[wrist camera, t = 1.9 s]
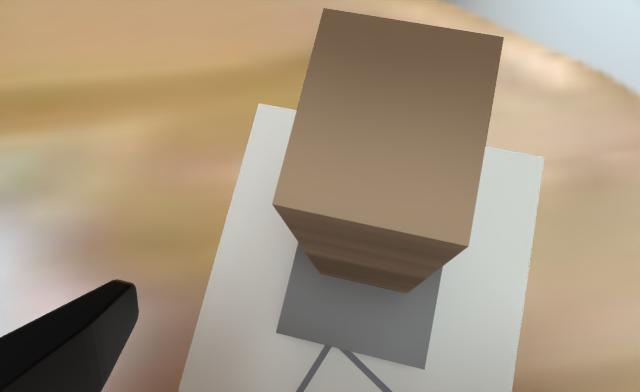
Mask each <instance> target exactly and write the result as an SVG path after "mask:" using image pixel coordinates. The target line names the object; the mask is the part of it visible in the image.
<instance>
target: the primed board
mask: <svg viewBox="0 0 640 392" xmlns="http://www.w3.org/2000/svg"><path fill="white" fill-rule="evenodd" d="M296 111H297V110H292V109H287V108H282V107H276V106H271V105H266V104H260V103H259V105H258V109H257V112H256V116H255V119H254V123H253V126H252V130H251V133H250V137H249V140H248V144H247V148H246V151H245V155H244V158H243V162H242V165H241V169H240V172H239V176H238V180H237V183H236V187H235V190H234V194H233V197H232V201H231V204H230V208H229V211H228V215H227V219H226V222H225V226H224V229H223V233H222V236H221V240H220V243H219V247H218V251H217V254H216V258H215V261H214V265H213V268H212V272H211V275H210V279H209V283H208V286H207V290H206V293H205V297H204V300H203V304H202V307H201V311H200V314H199V318H198V322H197V325H196V329H195V332H194V336H193V339H192V343H191V346H190V350H189V354H188V357H187V361H186V364H185V368H184V371H183V375H182V378H181V382H180V386H179V389H178V392H512V386H513V379H514V372H515V365H516V357H517V350H518V343H519V336H520V329H521V322H522V314H523V307H524V300H525V293H526V286H527V279H528V271H529V264H530V257H531V250H532V243H533V236H534V228H535V221H536V214H537V207H538V200H539V193H540V185H541V178H542V171H543V164H544V157H541V156H536V155H531V154H525V153H520V152H515V151H509V150H504V149H499V148H493V147H488V146H485V152H484V158H483V164H482V170H481V176H480V182H479V188H478V194H477V200H476V206H475V212H474V218H473V224H472V230H471V236H470V242H469V247H467V248H466V249H465V250H463V251H462V252H461V253H459V254H458V255H457V256H456V257H454V258H453V259H452V260H450V261H449V262H448V263H446V264H445V265H444V266H443V269H442V274H441V280H440V286H439V291H438V297H437V302H436V308H435V314H434V319H433V325H432V331H431V336H430V342H429V348H428V353H427V359H426V364H425V370H424V369H420V368H415V367H411V366H407V365H403V364H399V363H395V362H391V361H387V360H383V359H379V358H375V357H371V356H367V355H363V354H359V353H355V352H351V351H347V350H343V349H339V348H335V347H331V346H327V345H323V344H319V343H315V342H311V341H307V340H303V339H299V338H295V337H291V336H287V335H282V334H278V333H276V330H277V326H278V322H279V318H280V314H281V310H282V306H283V302H284V298H285V294H286V290H287V286H288V281H289V277H290V273H291V269H292V265H293V261H294V257H295V253H296V249H297V245H298V241H297V240H296V238H295V237H294V235H293V234H292V232H291V231H290V229H289V228H288V227H287V225H286V224H285V222H284V221H283V219H282V218H281V216H280V215H279V214H278V212H277V211H276V209H275V208H274V206H273V205H272V202H273V198H274V195H275V191H276V187H277V183H278V180H279V176H280V172H281V168H282V164H283V161H284V157H285V153H286V149H287V145H288V142H289V138H290V134H291V130H292V127H293V123H294V119H295V115H296Z"/></svg>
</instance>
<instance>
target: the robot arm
mask: <svg viewBox="0 0 640 392" xmlns="http://www.w3.org/2000/svg"><path fill="white" fill-rule="evenodd" d="M138 314H139V309H138V301H137V292H136V287H135V285H134V284H133V283H131V282H127V281H122V280H112V281H110V282H108V283H106V284H104V285H102V286H100V287H98V288H96V289H95V290H93V291H91V292H89V293H87V294H85V295H83V296H81V297H79V298H77V299H75V300H73V301H71V302H69V303H67V304H65V305H63V306H61V307H59V308H57V309H55V310H53V311H51V312H49V313H47V314H46V315H44V316H42V317H40V318H38V319H36V320H34V321H32V322H30V323H28V324H26V325H24V326H22V327H20V328H18V329H16V330H14V331H12V332H10V333H8V334H6V335H4V336H2V337H0V392H101V390H102V389H103V387H104V385H105V383H106V381H107V379H108V378H109V376H110V374H111V372H112V370H113V368H114V366H115V364H116V362H117V360H118V358H119V356H120V354H121V352H122V350H123V348H124V346H125V344H126V342H127V340H128V338H129V336H130V334H131V332H132V330H133V328H134V326H135V324H136V322H137V319H138Z"/></svg>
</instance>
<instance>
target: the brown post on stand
mask: <svg viewBox="0 0 640 392" xmlns="http://www.w3.org/2000/svg"><path fill="white" fill-rule="evenodd" d="M503 38H504V37H499V36H493V35H487V34H481V33H474V32H468V31H462V30H456V29H450V28H443V27H437V26H431V25H425V24H419V23H412V22H406V21H400V20H394V19H387V18H381V17H375V16H369V15H363V14H356V13H350V12H344V11H338V10H332V9H325V8H324V9H323V13H322V17H321V20H320V24H319V28H318V32H317V36H316V39H315V43H314V47H313V51H312V55H311V58H310V62H309V66H308V70H307V73H306V77H305V81H304V85H303V89H302V92H301V96H300V100H299V104H298V108H297V111H296V115H295V119H294V123H293V127H292V130H291V134H290V138H289V142H288V145H287V149H286V153H285V157H284V161H283V164H282V168H281V172H280V176H279V180H278V183H277V187H276V191H275V195H274V198H273V202H272V205H273V206H274V208H275V209H276V211H277V212H278V214H279V215H280V216H281V218H282V219H283V221H284V222H285V224H286V225H287V227H288V228H289V229H290V231H291V232H292V234H293V235H294V237H295V238H296V240H297V241H298V245H297V249H296V253H295V257H294V261H293V265H292V269H291V273H290V277H289V281H288V286H287V290H286V294H285V298H284V302H283V306H282V310H281V314H280V318H279V322H278V326H277V330H276V333H278V334H282V335H287V336H291V337H295V338H299V339H303V340H307V341H311V342H315V343H319V344H323V345H327V346H331V347H335V348H339V349H343V350H347V351H351V352H355V353H359V354H363V355H367V356H371V357H375V358H379V359H383V360H387V361H391V362H395V363H399V364H403V365H407V366H411V367H415V368H420V369H424V370H425V364H426V359H427V353H428V348H429V342H430V336H431V331H432V325H433V319H434V314H435V308H436V302H437V297H438V291H439V286H440V280H441V274H442V269H443V266H444V265H445V264H446V263H448V262H449V261H450V260H452V259H453V258H454V257H456V256H457V255H458V254H459V253H461V252H462V251H463V250H465V249H466V248H467V247H469V242H470V236H471V230H472V224H473V218H474V212H475V206H476V200H477V194H478V188H479V182H480V176H481V170H482V164H483V158H484V152H485V146H486V140H487V134H488V128H489V122H490V116H491V110H492V104H493V98H494V92H495V86H496V80H497V74H498V68H499V62H500V56H501V50H502V44H503Z"/></svg>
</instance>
